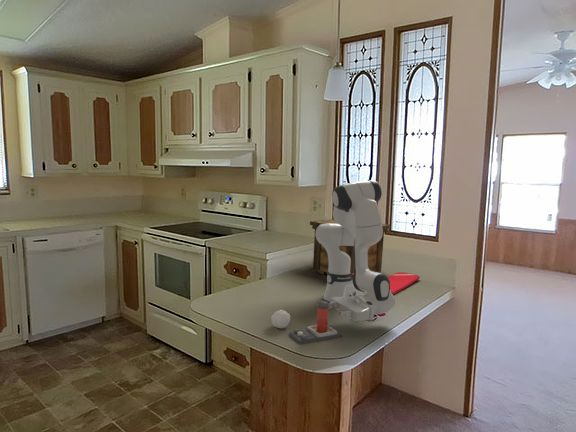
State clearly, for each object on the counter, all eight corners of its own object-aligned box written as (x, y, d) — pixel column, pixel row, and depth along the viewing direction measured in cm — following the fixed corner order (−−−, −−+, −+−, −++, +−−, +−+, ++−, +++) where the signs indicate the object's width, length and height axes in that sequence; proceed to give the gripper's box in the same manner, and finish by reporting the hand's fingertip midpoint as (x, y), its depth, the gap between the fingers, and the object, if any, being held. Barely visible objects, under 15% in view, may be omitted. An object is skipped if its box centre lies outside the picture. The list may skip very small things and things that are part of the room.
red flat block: (366, 290, 230) (366, 283, 230) (395, 276, 263) (396, 270, 262) (393, 296, 221) (393, 290, 220) (420, 281, 253) (420, 275, 253)
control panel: (329, 328, 174) (329, 322, 173) (341, 336, 166) (341, 330, 165) (289, 334, 165) (289, 329, 165) (299, 344, 157) (300, 338, 157)
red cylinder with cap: (323, 328, 170) (325, 299, 168) (329, 332, 166) (330, 303, 164) (314, 329, 168) (315, 301, 166) (320, 333, 164) (321, 304, 162)
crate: (350, 285, 237) (354, 229, 232) (307, 272, 262) (310, 221, 258) (386, 276, 260) (389, 224, 256) (343, 264, 286) (346, 217, 281)
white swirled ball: (288, 324, 176) (289, 306, 175) (291, 331, 169) (292, 313, 168) (270, 324, 175) (270, 306, 174) (271, 331, 168) (272, 313, 167)
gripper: (347, 291, 183) (320, 295, 177) (376, 306, 165) (348, 311, 159) (346, 305, 184) (319, 309, 177) (375, 321, 166) (347, 326, 159)
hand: (333, 310), depth 168 cm, fingers open, 8 cm apart
